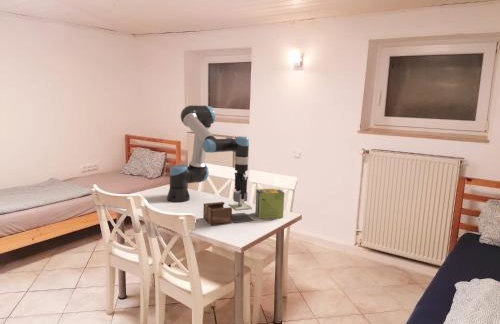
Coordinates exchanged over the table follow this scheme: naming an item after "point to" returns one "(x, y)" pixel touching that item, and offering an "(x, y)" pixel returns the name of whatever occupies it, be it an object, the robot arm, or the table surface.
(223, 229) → the table surface
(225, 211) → the walnut box
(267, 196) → the protein box
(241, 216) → the rubber mat
